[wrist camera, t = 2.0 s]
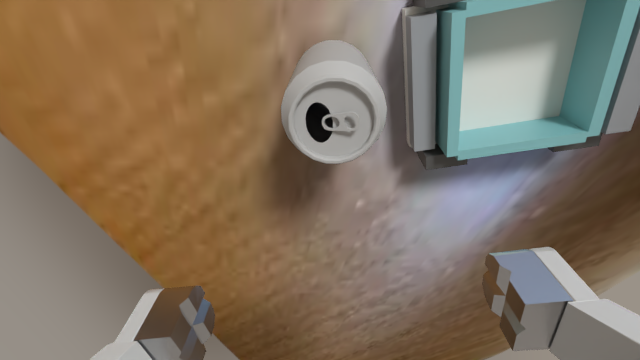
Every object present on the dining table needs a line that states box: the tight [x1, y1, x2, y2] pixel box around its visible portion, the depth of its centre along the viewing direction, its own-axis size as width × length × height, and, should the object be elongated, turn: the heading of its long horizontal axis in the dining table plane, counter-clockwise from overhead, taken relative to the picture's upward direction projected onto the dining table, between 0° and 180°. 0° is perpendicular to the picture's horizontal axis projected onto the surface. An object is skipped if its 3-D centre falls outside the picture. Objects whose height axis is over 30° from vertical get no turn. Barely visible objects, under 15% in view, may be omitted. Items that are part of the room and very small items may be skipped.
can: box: [281, 40, 387, 164], centre depth 25 cm, size 8×8×12 cm
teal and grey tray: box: [402, 0, 640, 170], centre depth 27 cm, size 18×16×6 cm
